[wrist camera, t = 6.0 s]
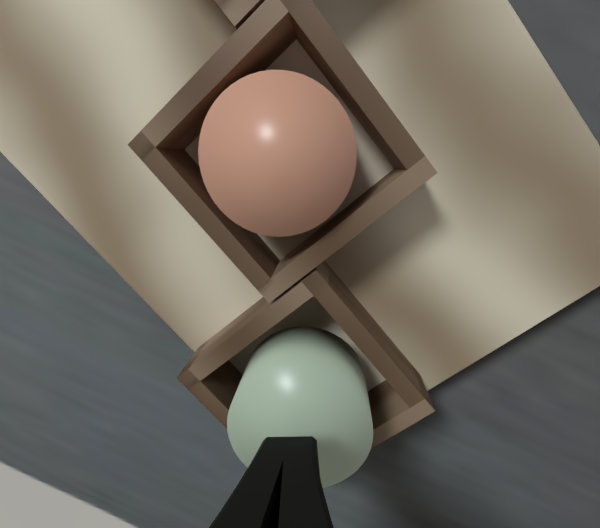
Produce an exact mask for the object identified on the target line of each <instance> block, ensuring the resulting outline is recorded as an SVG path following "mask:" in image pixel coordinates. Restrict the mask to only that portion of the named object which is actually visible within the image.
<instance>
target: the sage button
mask: <svg viewBox="0 0 600 528" xmlns="http://www.w3.org/2000/svg"><path fill="white" fill-rule="evenodd" d="M227 431H228V436H229V440H230V443H231V445H232V447H233V449H234V451H235V453H236V455H237V456H238V457H239V459H240V460H241V461H242V462H243V464H244V465H245V466H246V467H247V468H248V467H249V465H250V464H251V462H252V460H253V458H254V457H255V455H256V453H257V451H258V449H259V447H260V446H261V444H262V442H263V440H264V439H265V438H266V437H298V436H313V437H314V438H315V439H316V440H317V448H318V459H319V470H320V479H321V484H322V488H324V487H329V486H331V485H334V484H337V483H339V482H341V481H343V480H345V479H346V478H348V477H349V476H351V475H352V474H353V473H355V472H356V471H357V470H358V469H359V468H360V467H361V465H362V464H363V463H364V461H365V460H366V458H367V457H368V454H369V452H370V450H371V446H372V442H373V423H372V416H371V410H370V404H369V397H368V391H367V385H366V378H365V373H364V368H363V365H362V363H361V360H360V359H359V357H358V355H357V354H356V352H355V351H354V350H353V348H352V347H351V346H350V345H349V344H348V343H347V342H345V341H344V340H343V339H342V338H340V337H338V336H337V335H335V334H333V333H331V332H329V331H326V330H323V329H320V328H315V327H305V326H300V327H291V328H286V329H283V330H280V331H278V332H275V333H273V334H271V335H270V336H268V337H267V338H265V339H264V340H263V341H262V342H261V343H260V344H259V345H258V346H257V347H256V348H255V350H254V352H253V353H252V355H251V357H250V359H249V362H248V364H247V367H246V369H245V371H244V374H243V376H242V379H241V381H240V383H239V386H238V388H237V391H236V393H235V396H234V398H233V400H232V403H231V405H230V408H229V412H228V417H227Z"/></svg>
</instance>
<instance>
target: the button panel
mask: <svg viewBox="0 0 600 528" xmlns="http://www.w3.org/2000/svg"><path fill="white" fill-rule="evenodd" d="M266 70H287V71H293V72H297V73H300V74H303V75H305V76H308V77H310V78H312V79H314V80H315V81H317V82H319V83H320V84H322V85H323V86H324V87H325V88H327V89H328V90H329V91H330V92H331V93H332V94H333V95H334V96H335V97H336V98H337V100H338V101H339V102H340V104H341V105H342V107H343V108H344V110H345V111H346V113H347V115H348V117H349V119H350V121H351V124H352V128H353V131H354V134H355V140H356V148H357V161H356V169H355V175H354V178H353V181H352V185H351V187H350V189H349V192H348V194H347V196H346V197H345V199H344V201H343V202H342V204H341V205H340V206H339V208H338V209H337V210H336V211H335V212H334V213H333V214H332V215H331V216H330V217H329V218H328V219H327V220H326V221H324V222H323V223H321V224H320V225H318V226H317V227H315V228H313V229H311V230H309V231H306V232H303V233H301V234H297V235H292V236H283V237H275V236H266V235H261V234H257V233H254V232H251V231H249V230H247V229H245V228H243V227H241V226H239V225H238V224H236V223H234V222H233V221H232V220H231V219H229V218H228V217H227V216H226V215H225V214H224V213H223V212H222V211H221V210H220V209H219V208H218V207H217V205H216V204H215V203H214V201H213V200H212V198H211V196H210V195H209V193H208V191H207V189H206V187H205V184H204V182H203V178H202V175H201V172H200V166H199V157H198V147H199V138H200V132H201V128H202V125H203V122H204V119H205V117H206V115H207V113H208V111H209V109H210V108H211V106H212V104H213V103H214V101H215V100H216V99H217V98H218V97H219V95H220V94H221V93H222V92H223V91H224V90H225V89H227V88H228V87H229V86H230V85H231V84H233V83H234V82H236V81H237V80H239V79H241V78H243V77H245V76H247V75H249V74H253V73H256V72H259V71H266ZM0 151H1V152H2V153H3V155H4V156H5V157H6V158H7V159H8V160H9V161H10V162H11V163H12V164H13V165H14V166H15V167H16V168H17V169H18V170H19V171H20V172H21V173H22V174H23V175H24V176H25V177H26V178H27V179H28V180H29V181H30V182H31V183H32V185H33V186H34V187H35V188H36V189H37V190H38V191H39V192H40V193H41V194H42V195H43V196H44V197H45V198H46V199H47V200H48V201H49V202H50V203H51V204H52V205H53V206H54V207H55V208H56V209H57V210H58V211H59V212H60V213H61V215H62V216H63V217H64V218H65V219H66V220H67V221H68V222H69V223H70V224H71V225H72V226H73V227H74V228H75V229H76V230H77V231H78V232H79V233H80V234H81V235H82V236H83V237H84V238H85V239H86V240H87V241H88V242H89V243H90V245H91V246H92V247H93V248H94V249H95V250H96V251H97V252H98V253H99V254H100V255H101V256H102V257H103V258H104V259H105V260H106V261H107V262H108V263H109V264H110V265H111V266H112V267H113V268H114V269H115V270H116V271H117V272H118V273H119V275H120V276H121V277H122V278H123V279H124V280H125V281H126V282H127V283H128V284H129V285H130V286H131V287H132V288H133V289H134V290H135V291H136V292H137V293H138V294H139V295H140V296H141V297H142V298H143V299H144V300H145V301H146V302H147V303H148V304H149V306H150V307H151V308H152V309H153V310H154V311H155V312H156V313H157V314H158V315H159V316H160V317H161V318H162V319H163V320H164V321H165V322H166V323H167V324H168V325H169V326H170V327H171V328H172V329H173V330H174V331H175V332H176V333H177V334H178V336H179V337H180V338H181V339H182V340H183V341H184V342H185V343H186V344H187V345H188V346H189V347H190V348H191V349H192V350H193V351H194V352H195V353H194V355H193V356H192V357H191V359H190V360H189V362H188V363H187V364H186V366H185V367H184V369H183V370H182V372H181V373H180V374H179V376H178V377H177V379H178V380H179V381H180V382H181V383H182V384H183V385H184V386H185V387H186V388H187V389H188V390H189V391H190V392H191V393H192V394H193V395H194V396H195V397H196V398H197V399H198V400H199V401H200V402H201V403H202V404H203V405H204V406H205V407H206V408H207V409H208V410H209V411H210V412H211V413H212V414H213V415H214V416H215V417H216V418H217V419H218V420H219V421H220V422H221V423H222V424H223V425H224V426H225V427H226V428H227V417H228V412H229V408H230V405H231V403H232V400H233V398H234V396H235V393H236V391H237V388H238V386H239V383H240V381H241V379H242V376H243V374H244V371H245V369H246V367H247V364H248V362H249V359H250V357H251V355H252V353H253V352H254V350H255V348H256V347H257V346H258V345H259V344H260V343H261V342H262V341H263V340H264V339H265V338H267V337H268V336H270V335H271V334H273V333H275V332H278V331H280V330H283V329H286V328H291V327H300V326H305V327H315V328H320V329H323V330H326V331H329V332H331V333H333V334H335V335H337V336H338V337H340V338H342V339H343V340H344V341H345V342H347V343H348V344H349V345H350V346H351V347H352V348H353V350H354V351H355V352H356V354H357V355H358V357H359V359H360V360H361V363H362V365H363V368H364V373H365V378H366V385H367V391H368V397H369V404H370V410H371V416H372V423H373V442H372V446H371V449H372V448H374V447H375V446H377V445H379V444H380V443H382V442H384V441H385V440H387V439H389V438H391V437H392V436H394V435H396V434H397V433H399V432H401V431H402V430H404V429H406V428H407V427H409V426H411V425H413V424H414V423H416V422H418V421H419V420H421V419H423V418H424V417H426V416H428V415H430V414H431V413H433V412H435V409H434V407H433V404H432V402H431V399H430V397H429V395H428V392H427V391H428V390H430V389H431V388H433V387H435V386H436V385H438V384H439V383H441V382H443V381H444V380H446V379H448V378H449V377H451V376H453V375H454V374H456V373H458V372H459V371H461V370H462V369H464V368H466V367H467V366H469V365H471V364H472V363H474V362H476V361H477V360H479V359H481V358H482V357H484V356H485V355H487V354H489V353H490V352H492V351H494V350H495V349H497V348H499V347H500V346H502V345H504V344H505V343H507V342H508V341H510V340H512V339H513V338H515V337H517V336H518V335H520V334H522V333H523V332H525V331H527V330H528V329H530V328H531V327H533V326H535V325H536V324H538V323H540V322H541V321H543V320H545V319H546V318H548V317H550V316H551V315H553V314H554V313H556V312H558V311H559V310H561V309H563V308H564V307H566V306H568V305H569V304H571V303H573V302H574V301H576V300H577V299H579V298H581V297H582V296H584V295H586V294H587V293H589V292H591V291H592V290H594V289H596V288H597V287H599V286H600V146H599V144H598V142H597V141H596V139H595V138H594V136H593V135H592V133H591V131H590V130H589V128H588V127H587V125H586V123H585V122H584V120H583V119H582V117H581V116H580V114H579V112H578V111H577V109H576V108H575V106H574V104H573V103H572V101H571V100H570V98H569V97H568V95H567V93H566V92H565V90H564V89H563V87H562V85H561V84H560V82H559V81H558V79H557V78H556V76H555V74H554V73H553V71H552V70H551V68H550V66H549V65H548V63H547V62H546V60H545V59H544V57H543V55H542V54H541V52H540V51H539V49H538V47H537V46H536V44H535V43H534V41H533V40H532V38H531V36H530V35H529V33H528V32H527V30H526V28H525V27H524V25H523V24H522V22H521V21H520V19H519V17H518V16H517V14H516V13H515V11H514V9H513V8H512V6H511V5H510V3H509V2H508V0H0Z"/></svg>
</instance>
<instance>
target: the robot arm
mask: <svg viewBox="0 0 600 528" xmlns="http://www.w3.org/2000/svg"><path fill="white" fill-rule="evenodd" d="M209 528H333V524H332V521H331V518H330V514H329V511H328V507H327V503H326V500H325V496H324V493H323V488H322V484H321V479H320V470H319V459H318V448H317V440H316V439H315V438H314V437H313V436H298V437H266V438H265V439H264V440H263V442H262V444H261V446H260V447H259V449H258V451H257V453H256V455H255V457H254V458H253V460H252V462H251V464H250V465H249V467H248V469H247V470H246V472H245V474H244V475H243V477H242V479H241V480H240V482H239V484H238V485H237V487H236V488H235V490H234V491H233V493H232V494H231V496H230V497H229V499H228V501H227V502H226V504H225V505H224V507H223V508H222V510H221V511H220V513H219V514H218V516H217V517H216V518H215V520H214V521H213V523H212V524H211V525H210V527H209Z"/></svg>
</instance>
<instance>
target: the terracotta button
mask: <svg viewBox="0 0 600 528" xmlns="http://www.w3.org/2000/svg"><path fill="white" fill-rule="evenodd" d="M198 157H199V166H200V172H201V175H202V178H203V182H204V184H205V187H206V189H207V191H208V193H209V195H210V196H211V198H212V200H213V201H214V203H215V204H216V205H217V207H218V208H219V209H220V210H221V211H222V212H223V213H224V214H225V215H226V216H227V217H228V218H229V219H231V220H232V221H233V222H234V223H236V224H238V225H239V226H241V227H243V228H245V229H247V230H249V231H251V232H254V233H257V234H261V235H266V236H275V237H283V236H292V235H297V234H301V233H303V232H306V231H309V230H311V229H313V228H315V227H317V226H318V225H320V224H321V223H323V222H324V221H326V220H327V219H328V218H329V217H330V216H331V215H332V214H333V213H334V212H335V211H336V210H337V209H338V208H339V206H340V205H341V204H342V202H343V201H344V199H345V197H346V196H347V194H348V192H349V189H350V187H351V185H352V181H353V178H354V175H355V169H356V161H357V148H356V140H355V134H354V131H353V128H352V124H351V121H350V119H349V117H348V115H347V113H346V111H345V110H344V108H343V107H342V105H341V104H340V102H339V101H338V100H337V98H336V97H335V96H334V95H333V94H332V93H331V92H330V91H329V90H328V89H327V88H325V87H324V86H323V85H322V84H320V83H319V82H317V81H315V80H314V79H312V78H310V77H308V76H305V75H303V74H300V73H297V72H293V71H287V70H266V71H259V72H256V73H253V74H249V75H247V76H245V77H243V78H241V79H239V80H237V81H236V82H234V83H233V84H231V85H230V86H229V87H228V88H227V89H225V90H224V91H223V92H222V93H221V94H220V95H219V97H218V98H217V99H216V100H215V101H214V103H213V104H212V106H211V108H210V109H209V111H208V113H207V115H206V117H205V119H204V122H203V125H202V128H201V132H200V138H199V147H198Z"/></svg>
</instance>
